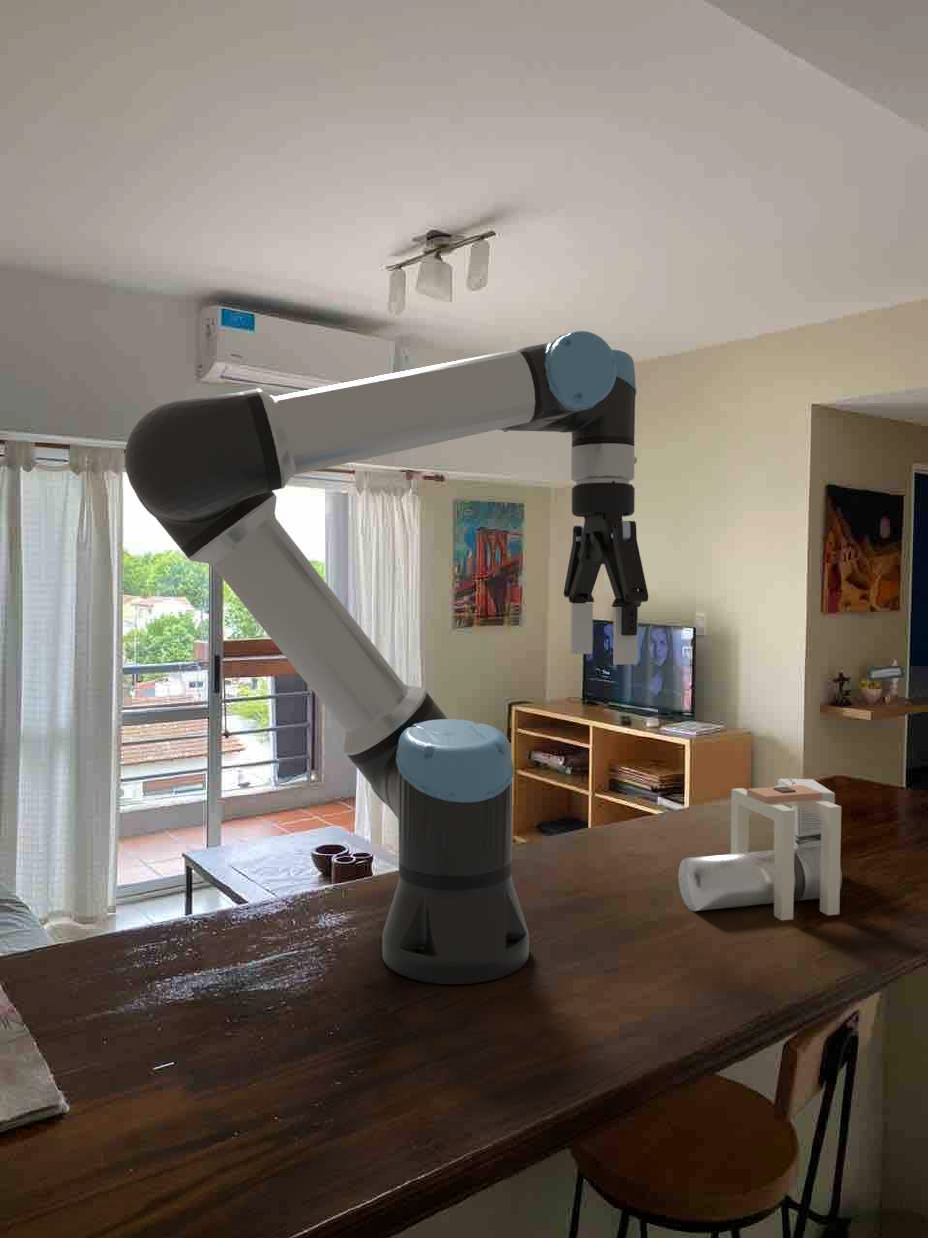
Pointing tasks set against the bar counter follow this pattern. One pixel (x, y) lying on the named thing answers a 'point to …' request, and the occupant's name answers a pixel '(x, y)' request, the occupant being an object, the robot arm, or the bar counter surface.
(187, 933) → the bar counter surface
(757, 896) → the silver metal cylinder
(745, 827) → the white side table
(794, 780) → the ink box
